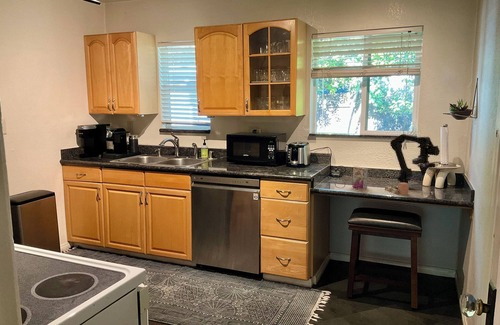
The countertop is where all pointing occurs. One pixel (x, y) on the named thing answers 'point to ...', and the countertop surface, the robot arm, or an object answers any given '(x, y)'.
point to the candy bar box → (360, 177)
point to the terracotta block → (403, 188)
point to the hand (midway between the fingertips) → (422, 175)
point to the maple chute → (392, 189)
